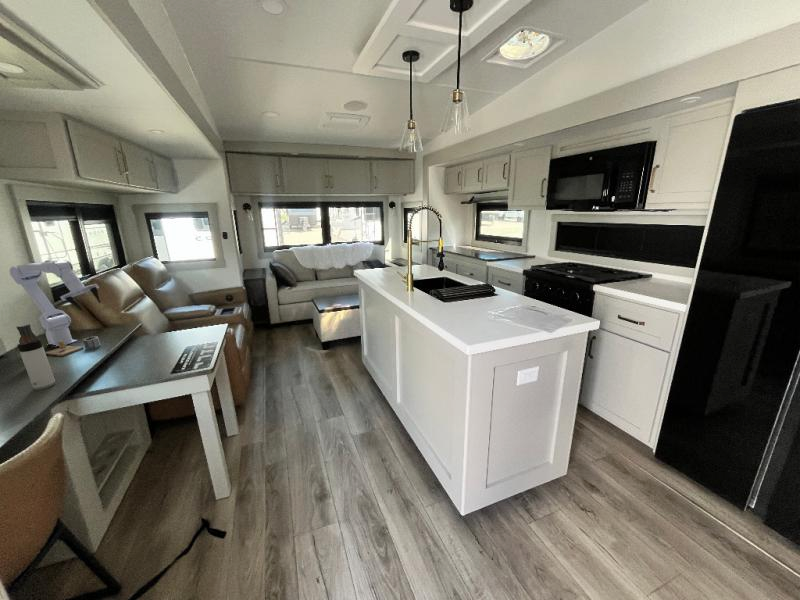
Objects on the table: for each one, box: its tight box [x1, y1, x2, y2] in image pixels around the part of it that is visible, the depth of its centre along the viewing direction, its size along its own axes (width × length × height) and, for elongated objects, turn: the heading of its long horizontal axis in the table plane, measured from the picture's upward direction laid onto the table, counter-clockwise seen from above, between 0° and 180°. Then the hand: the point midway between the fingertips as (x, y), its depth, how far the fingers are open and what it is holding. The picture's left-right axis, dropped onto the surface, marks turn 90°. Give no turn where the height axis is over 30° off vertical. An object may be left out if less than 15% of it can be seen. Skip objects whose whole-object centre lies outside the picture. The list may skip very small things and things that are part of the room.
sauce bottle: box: [16, 323, 41, 344], centre depth 147 cm, size 6×6×20 cm
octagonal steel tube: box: [82, 335, 101, 350], centre depth 167 cm, size 6×6×5 cm
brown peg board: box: [45, 341, 84, 357], centre depth 162 cm, size 12×9×6 cm
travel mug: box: [16, 339, 57, 391], centre depth 129 cm, size 6×7×20 cm
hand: (90, 305), depth 161 cm, fingers open, 7 cm apart
